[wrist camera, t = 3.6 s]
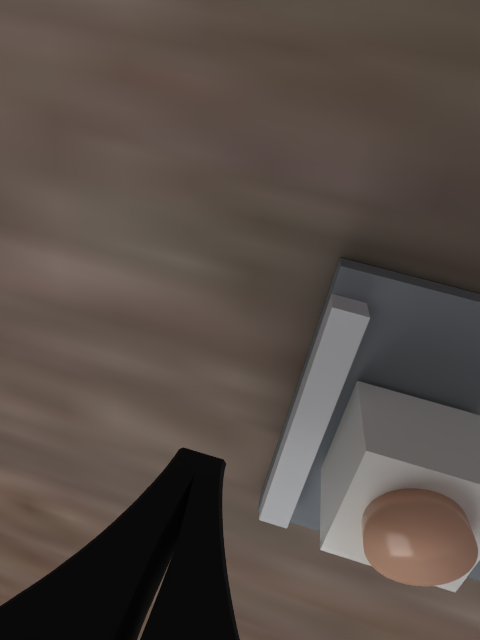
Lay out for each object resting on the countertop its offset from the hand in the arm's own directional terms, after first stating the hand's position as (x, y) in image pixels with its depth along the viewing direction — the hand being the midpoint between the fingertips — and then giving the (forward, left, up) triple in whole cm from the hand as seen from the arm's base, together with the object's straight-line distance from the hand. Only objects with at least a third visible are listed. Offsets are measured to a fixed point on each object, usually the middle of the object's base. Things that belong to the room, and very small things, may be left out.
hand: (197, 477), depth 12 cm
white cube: (-7, 0, -4) cm, 8 cm away
